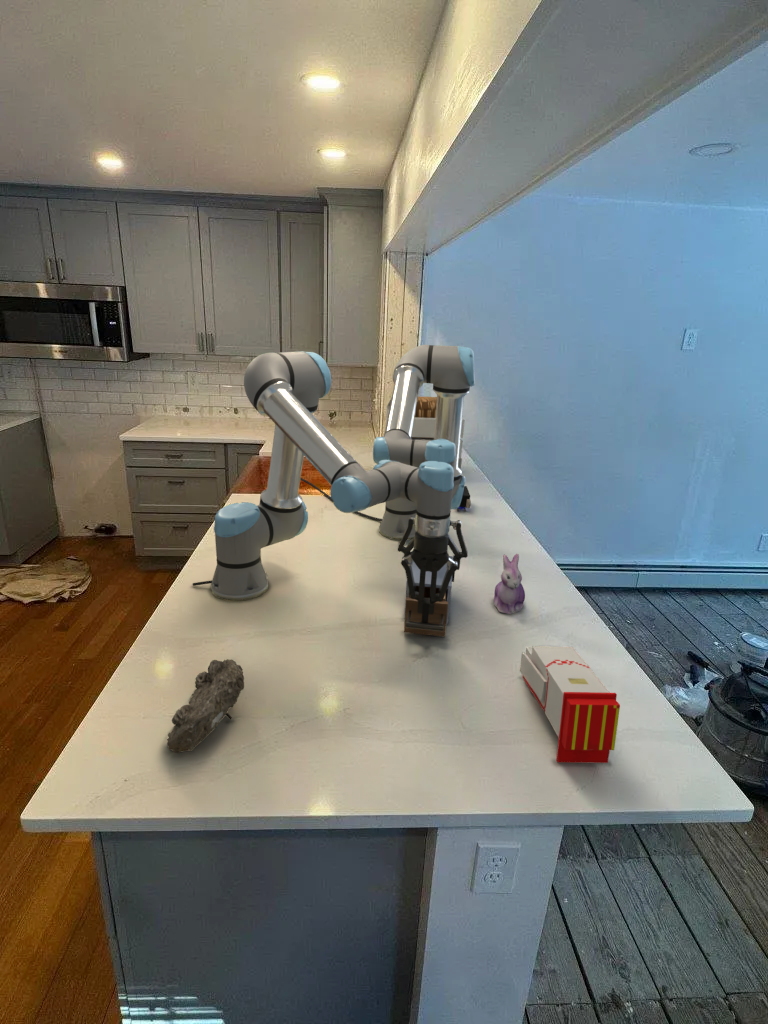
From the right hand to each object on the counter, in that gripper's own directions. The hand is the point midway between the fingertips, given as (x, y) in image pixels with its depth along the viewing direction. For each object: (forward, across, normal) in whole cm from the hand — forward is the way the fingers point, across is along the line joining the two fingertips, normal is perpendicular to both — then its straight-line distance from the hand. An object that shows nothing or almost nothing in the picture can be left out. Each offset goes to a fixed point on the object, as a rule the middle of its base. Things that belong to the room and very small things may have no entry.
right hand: (430, 577), depth 153 cm
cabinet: (+6, 0, -4) cm, 7 cm away
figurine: (+7, +22, 0) cm, 23 cm away
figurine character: (+6, +8, +80) cm, 80 cm away
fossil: (+7, -38, -55) cm, 68 cm away
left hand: (+2, 0, -23) cm, 23 cm away
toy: (+7, +28, -42) cm, 51 cm away
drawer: (+6, 0, -14) cm, 16 cm away
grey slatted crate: (+5, -12, +126) cm, 127 cm away
